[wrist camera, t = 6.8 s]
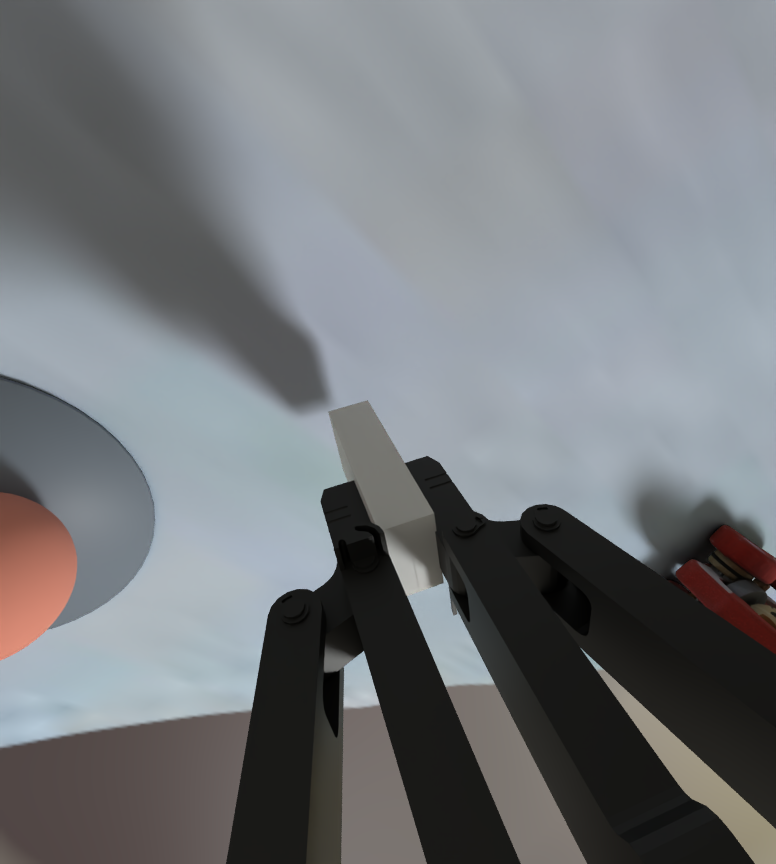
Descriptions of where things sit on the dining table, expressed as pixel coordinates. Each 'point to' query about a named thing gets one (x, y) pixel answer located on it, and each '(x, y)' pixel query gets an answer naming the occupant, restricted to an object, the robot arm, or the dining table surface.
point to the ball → (31, 571)
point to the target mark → (77, 490)
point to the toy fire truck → (735, 584)
